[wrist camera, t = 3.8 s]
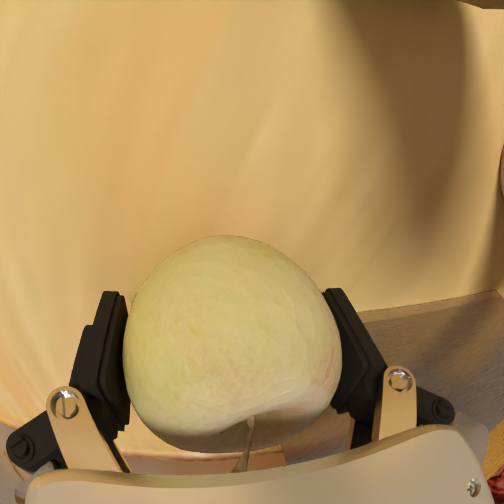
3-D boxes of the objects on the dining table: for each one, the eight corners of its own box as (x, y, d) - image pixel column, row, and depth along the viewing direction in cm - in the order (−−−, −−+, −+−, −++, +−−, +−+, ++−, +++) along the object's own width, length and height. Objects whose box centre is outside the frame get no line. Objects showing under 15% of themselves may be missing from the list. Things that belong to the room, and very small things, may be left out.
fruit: (99, 273, 11) (49, 461, 4) (249, 170, 10) (359, 377, 3) (204, 361, 15) (221, 502, 8) (326, 299, 14) (398, 444, 7)
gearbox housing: (495, 289, 18) (568, 383, 8) (419, 393, 27) (459, 471, 16) (333, 315, 14) (431, 529, 4) (278, 431, 23) (308, 543, 13)
